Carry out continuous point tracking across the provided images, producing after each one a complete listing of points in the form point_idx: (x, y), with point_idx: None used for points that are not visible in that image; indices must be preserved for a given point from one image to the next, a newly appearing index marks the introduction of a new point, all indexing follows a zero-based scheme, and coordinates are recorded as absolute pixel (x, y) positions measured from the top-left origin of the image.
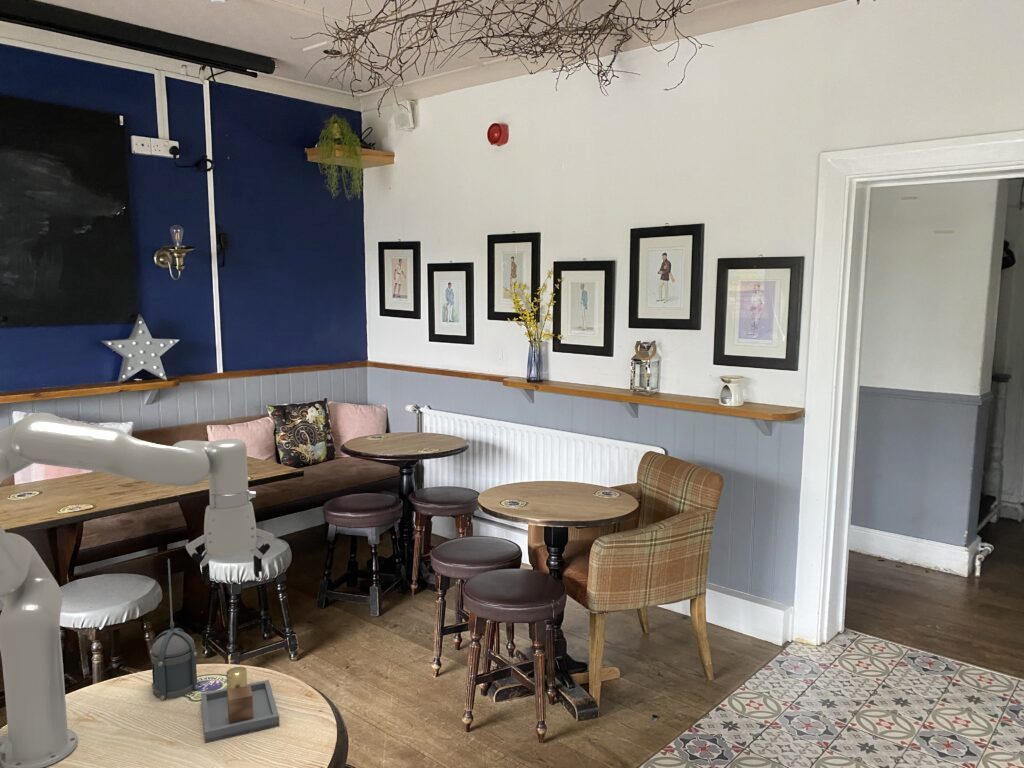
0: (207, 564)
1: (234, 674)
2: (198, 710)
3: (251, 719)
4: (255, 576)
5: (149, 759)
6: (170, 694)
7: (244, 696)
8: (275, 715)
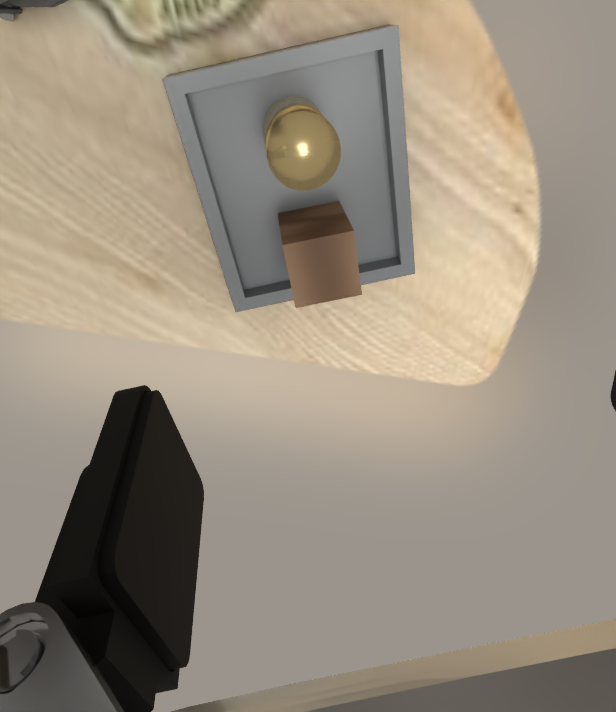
0: (150, 674)
1: (299, 180)
2: (171, 125)
3: None
4: (613, 403)
5: (122, 336)
6: (30, 4)
7: (339, 294)
8: (406, 270)
